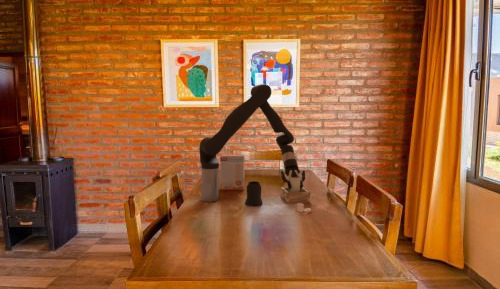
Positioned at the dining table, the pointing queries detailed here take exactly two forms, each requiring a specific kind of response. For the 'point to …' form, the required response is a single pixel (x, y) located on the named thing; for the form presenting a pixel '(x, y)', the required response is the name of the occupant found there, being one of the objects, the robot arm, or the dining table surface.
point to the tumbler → (295, 184)
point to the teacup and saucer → (301, 208)
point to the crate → (295, 195)
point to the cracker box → (232, 172)
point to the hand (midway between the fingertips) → (296, 188)
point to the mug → (253, 194)
